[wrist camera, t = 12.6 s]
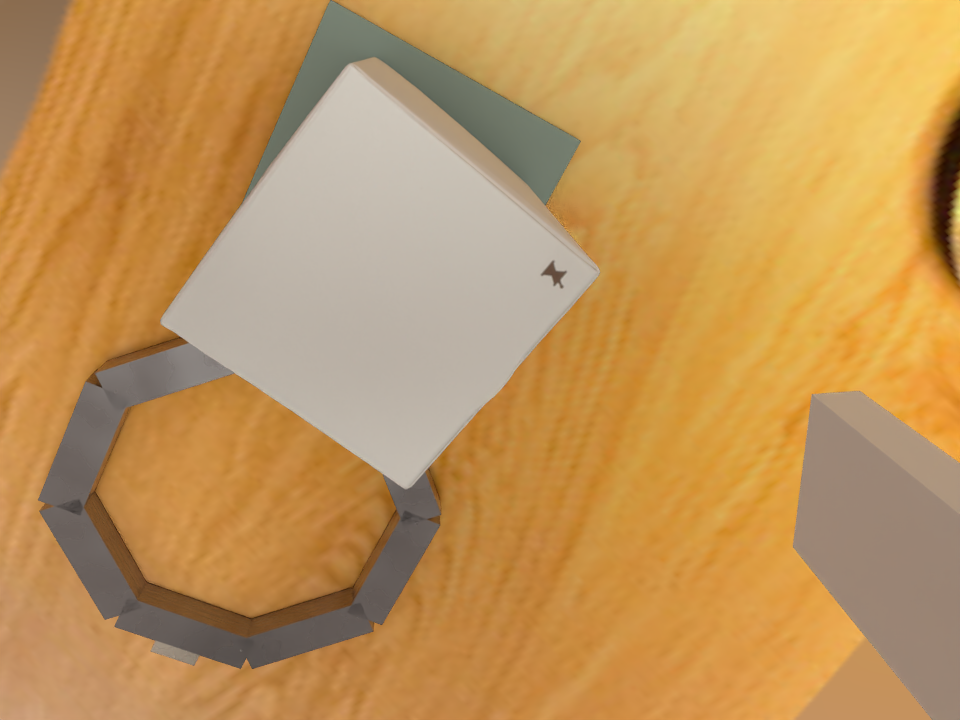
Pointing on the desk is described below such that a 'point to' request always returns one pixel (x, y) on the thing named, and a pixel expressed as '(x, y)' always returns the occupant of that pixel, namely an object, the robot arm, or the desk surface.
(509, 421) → the desk surface
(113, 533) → the socket collar
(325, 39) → the felt pad
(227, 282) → the supplement box
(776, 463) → the desk surface
